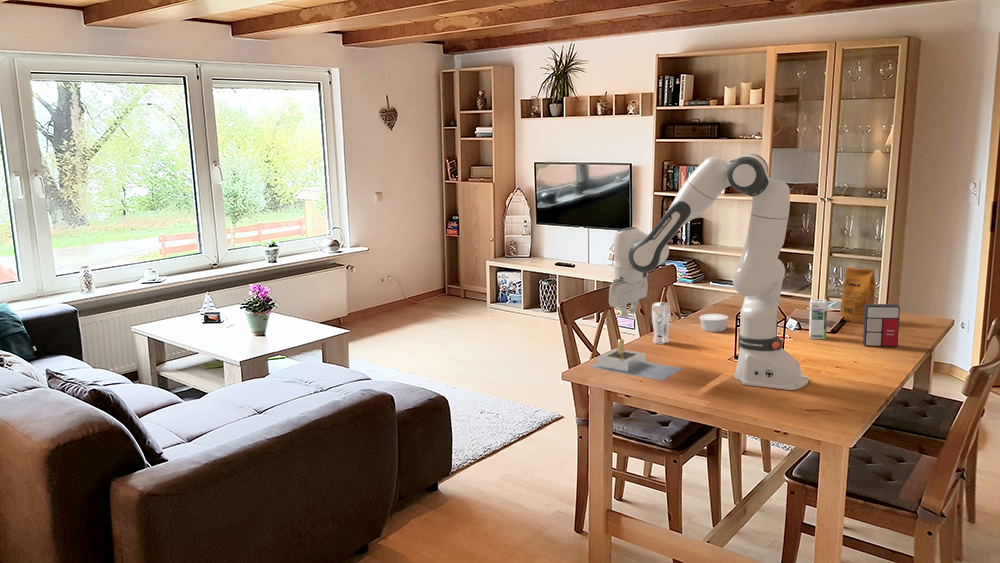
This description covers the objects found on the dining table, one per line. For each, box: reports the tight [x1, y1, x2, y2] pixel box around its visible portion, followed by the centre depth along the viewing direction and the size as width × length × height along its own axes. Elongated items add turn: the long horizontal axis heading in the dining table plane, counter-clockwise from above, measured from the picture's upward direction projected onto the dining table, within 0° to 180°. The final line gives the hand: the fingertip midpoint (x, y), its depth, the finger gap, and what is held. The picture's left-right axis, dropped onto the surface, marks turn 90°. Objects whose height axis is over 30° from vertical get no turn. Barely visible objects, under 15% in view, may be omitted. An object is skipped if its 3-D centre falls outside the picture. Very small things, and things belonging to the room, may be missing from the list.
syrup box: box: [808, 298, 828, 340], centre depth 287 cm, size 6×6×14 cm
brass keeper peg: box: [617, 338, 625, 359], centre depth 258 cm, size 4×4×9 cm
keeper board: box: [590, 361, 684, 381], centre depth 256 cm, size 27×15×2 cm, turn 50°
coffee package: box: [839, 266, 876, 324], centre depth 309 cm, size 10×12×22 cm
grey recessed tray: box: [596, 348, 647, 373], centre depth 259 cm, size 12×12×4 cm
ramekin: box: [699, 313, 729, 333], centre depth 306 cm, size 11×11×5 cm
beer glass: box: [651, 301, 671, 345], centre depth 290 cm, size 7×7×15 cm
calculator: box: [862, 303, 901, 348], centre depth 273 cm, size 11×4×15 cm, turn 76°
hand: (628, 314), depth 259 cm, fingers open, 4 cm apart
